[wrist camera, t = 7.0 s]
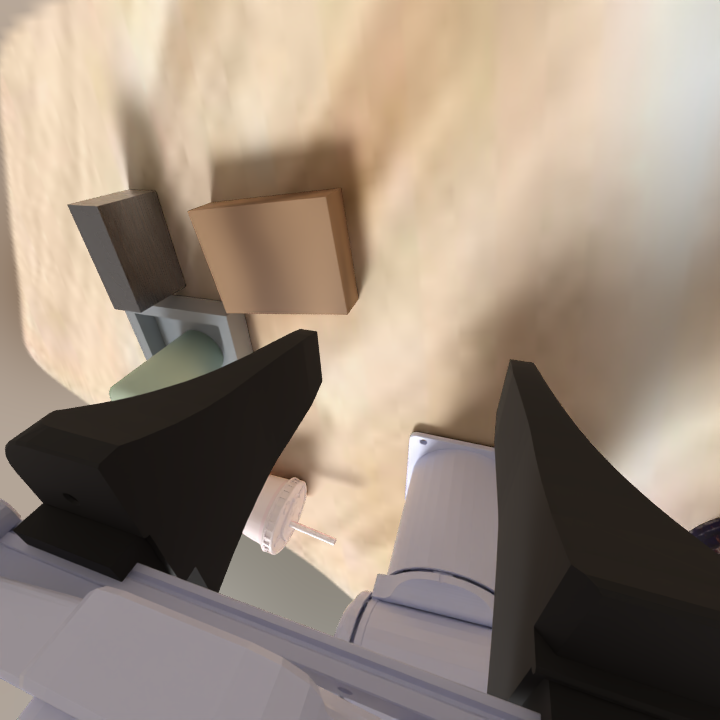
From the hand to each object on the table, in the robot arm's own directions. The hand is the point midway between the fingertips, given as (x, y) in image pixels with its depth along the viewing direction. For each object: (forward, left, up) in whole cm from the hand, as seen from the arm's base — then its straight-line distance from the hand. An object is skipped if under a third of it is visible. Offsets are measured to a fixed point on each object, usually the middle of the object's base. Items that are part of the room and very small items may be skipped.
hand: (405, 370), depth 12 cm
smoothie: (+20, +21, -7) cm, 30 cm away
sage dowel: (+17, +8, -9) cm, 21 cm away
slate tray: (+17, +8, -9) cm, 21 cm away
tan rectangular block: (+9, 0, -10) cm, 13 cm away
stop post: (+18, 0, -9) cm, 20 cm away
